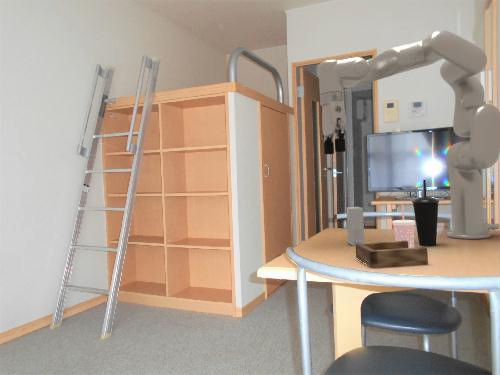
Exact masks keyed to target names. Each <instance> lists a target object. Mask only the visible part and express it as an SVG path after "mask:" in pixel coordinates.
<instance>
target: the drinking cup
mask: <svg viewBox="0 0 500 375" xmlns="http://www.w3.org/2000/svg"><path fill="white" fill-rule="evenodd" d="M422 180H423V181H422V183H423V184H422V185H423V196H420V197H417V198H415V199H414V200H412V201H411V203H412V206H413V213H414V218H415V220H414V221H415V226H416V233H417V239H418V246H419V247H435V246H437V236H438V218H439V217H438V216H439V202H440V200H439V199H437V198H435V197H432V196H427V182H426V181H427V180H426V179H422Z"/></svg>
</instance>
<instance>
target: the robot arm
mask: <svg viewBox="0 0 500 375" xmlns="http://www.w3.org/2000/svg"><path fill="white" fill-rule="evenodd" d="M442 59H443V60H445V61H444V62H442V64H441V66H440V70H439V73H440V76H441V78H442V80H443V81H444V82H445V83H447V85H449V87H451V89H452V90H453V93H454V101H455V102H454V112H453V121H452V122H453V123H452V126H453V127H452V128H453V132H454V134H455V135H456V136H458V137H460V138H470V139H469V140H464V141H458V142H456V143H454V144H452V145H451V146H450V147H449V148H448V150H447V151H446V154H445V161H446V162H445V163H446V167H447V171H448V175H449V176H448V178H449V186H450V187H449V188H450V189H449V191H450V193H449V194H450V209H451V210H450V212H451V215H450V216H451V231H448V232H446V235H447V237H449V238H453V239H454V238H455V239H462V240H464V239H465V240H469V239H470V240H473V239H474V240H476V239H477V240H478V239H480V240H481V239H487V238H490V237H491V232H490V231H491V230H499V229H500V224H499V223H488V222H486V221H485V208H484V206H485V205H484V186H483V184H484V183H483V178H482V175H481V173H480V170H485V169H490V168H491V167H493V166H495V164H496V163H497V162H498V160H499V157H500V110H499V108H498V107H497V106H495V105H494V104H491V103H485V88H484V86H483V84H482V82H481V81H480V80H479V79H478V78H477V77H476V75H478V74H480V73H481V72H482V71H483V70H484V69H485V68H486V67H487V64H488V56H487V54H486V52H485V51H484V50H483V49H482V48H481V47H479V46H478V45H477V44H475V43H473V42H471V41H469V40H467V39H466V38H463V37H461V36H460V35H458V34H456V33H453V32H451V31H449V30H445V29H438V30H436V31H434V32H432V33H431V34H429V35H428V36H427V37H425V38H422V39H419V40H416V41H412V42H408V43H405V44H404V43H403V44H400V45H397V46H393V47H390V48H389V49H387V50H384V51H383V52H381V53H379V54H377V55H375V56H374V57H372V58H369V59H367V60H366V59H364V58H363V57H359V56H358V57H350V58H345V59H339V60H338V59H327V60H323V61H322V62H320V63H319V65H318V85H319V102H320V103H319V104H320V107H322V110H321V111H322V112H321V117H322V118H321V121H322V122H321V123H322V124H321V126H322V135H323V136H322V138H323V151H324V153H323V154H324V155H334V154H335V153H345V152H346V150H347V149H346V135H345V134H346V133H347V131H348V127H347V126H348V125H347V124H348V123H347V117H346V116H347V114H346V108H345V97H344V96H345V95H344V93H345V92H344V88H347V89H350V88H355V87H359V86H363V85H367V84H369V83H373V82H375V81H379V80H382V79H385V78H390V77H392V76H395V75H398V74H401V73H405V72H408V71H412V70H416V69H419V68H420V69H421V68H423V67H427V66H430V65H433V64H435V63H437V62H439V61H441V60H442ZM334 138H335V139H334Z"/></svg>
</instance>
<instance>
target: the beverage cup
mask: <svg viewBox="0 0 500 375" xmlns="http://www.w3.org/2000/svg"><path fill="white" fill-rule="evenodd" d="M404 206H405V205H404V203H402V202H401V214H402V217H401V218H402V219H396V220H391V222H392V225H393V232H394V241H408V248H415V225H416V220H413V219H405V207H404Z"/></svg>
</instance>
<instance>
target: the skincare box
mask: <svg viewBox="0 0 500 375" xmlns="http://www.w3.org/2000/svg"><path fill="white" fill-rule="evenodd" d="M364 223H365V222H364V207H359V206H353V207H352V206H351V207H349V206H347V207H346V228H347V230H346V232H347V243H348V244H349V245H352V246H355V244H360V243H366V242H365V224H364Z"/></svg>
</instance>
